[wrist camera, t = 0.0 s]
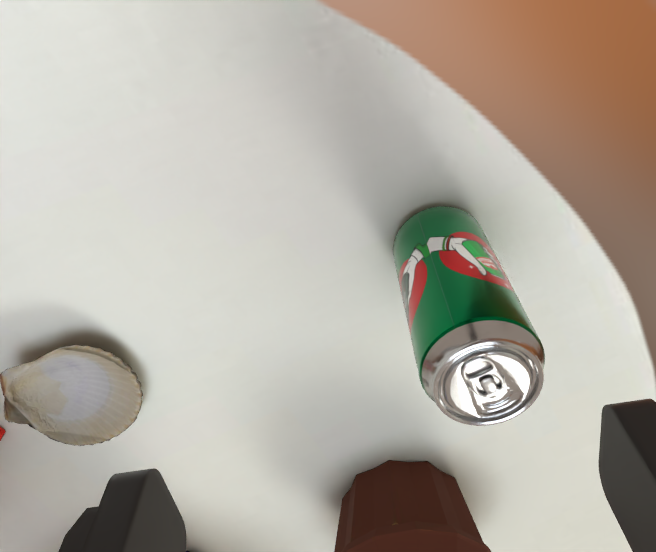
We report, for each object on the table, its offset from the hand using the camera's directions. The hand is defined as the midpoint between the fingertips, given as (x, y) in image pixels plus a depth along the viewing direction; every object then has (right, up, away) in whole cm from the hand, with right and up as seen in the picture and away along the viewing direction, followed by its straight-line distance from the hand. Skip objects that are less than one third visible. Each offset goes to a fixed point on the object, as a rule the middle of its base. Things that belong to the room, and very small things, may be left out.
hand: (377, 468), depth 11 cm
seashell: (-17, -3, +28) cm, 32 cm away
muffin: (+5, -13, +34) cm, 37 cm away
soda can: (+5, +5, +23) cm, 24 cm away
